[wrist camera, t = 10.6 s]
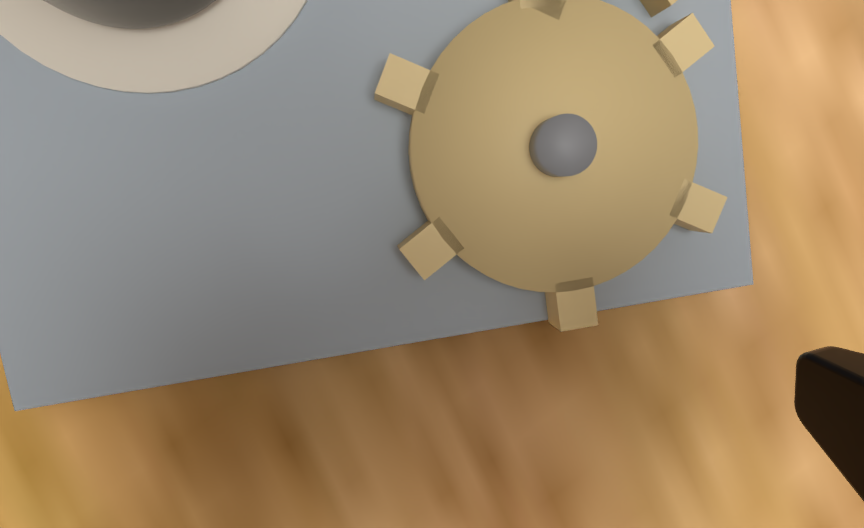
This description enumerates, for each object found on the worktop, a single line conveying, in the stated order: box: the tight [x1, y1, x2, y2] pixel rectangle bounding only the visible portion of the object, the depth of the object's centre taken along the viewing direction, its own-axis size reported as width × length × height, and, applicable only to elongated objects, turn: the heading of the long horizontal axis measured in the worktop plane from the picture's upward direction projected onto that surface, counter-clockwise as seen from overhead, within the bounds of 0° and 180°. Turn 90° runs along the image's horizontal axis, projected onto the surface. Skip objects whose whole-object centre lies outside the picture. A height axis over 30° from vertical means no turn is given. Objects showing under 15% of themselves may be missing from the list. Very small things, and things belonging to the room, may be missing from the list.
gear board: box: [0, 0, 753, 411], centre depth 17 cm, size 18×22×3 cm
